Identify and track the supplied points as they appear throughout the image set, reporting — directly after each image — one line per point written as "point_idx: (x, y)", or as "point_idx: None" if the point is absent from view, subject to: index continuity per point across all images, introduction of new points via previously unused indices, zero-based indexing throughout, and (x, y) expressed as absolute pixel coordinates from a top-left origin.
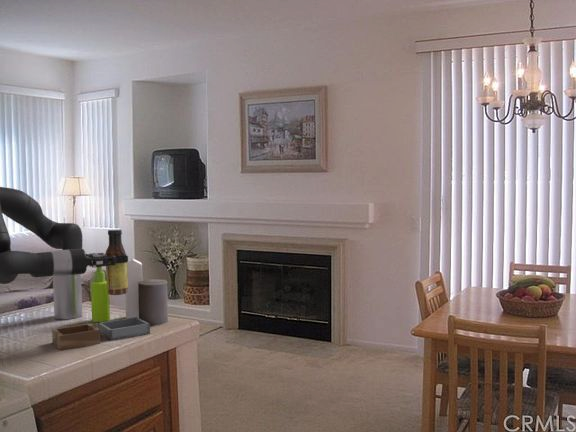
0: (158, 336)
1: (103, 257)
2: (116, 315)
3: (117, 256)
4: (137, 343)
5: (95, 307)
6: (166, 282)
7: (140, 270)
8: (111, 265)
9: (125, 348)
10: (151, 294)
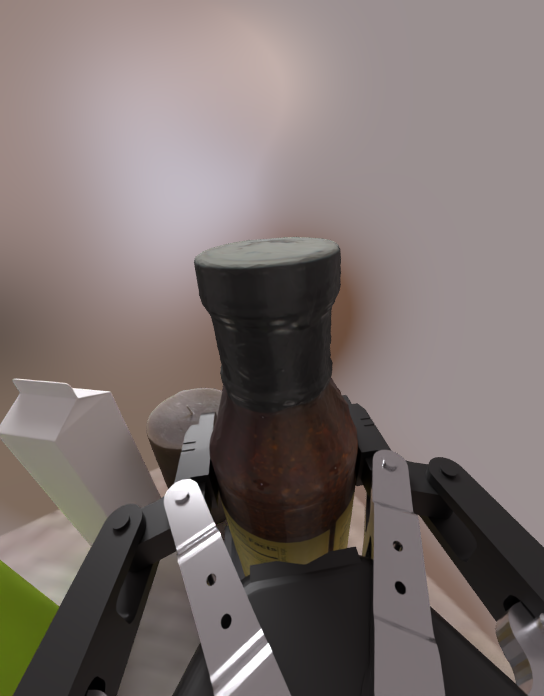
0: (361, 509)
1: (354, 553)
2: (42, 574)
3: (372, 441)
4: (428, 586)
5: (8, 682)
6: (221, 391)
7: (114, 410)
8: (346, 520)
9: (495, 648)
10: None
